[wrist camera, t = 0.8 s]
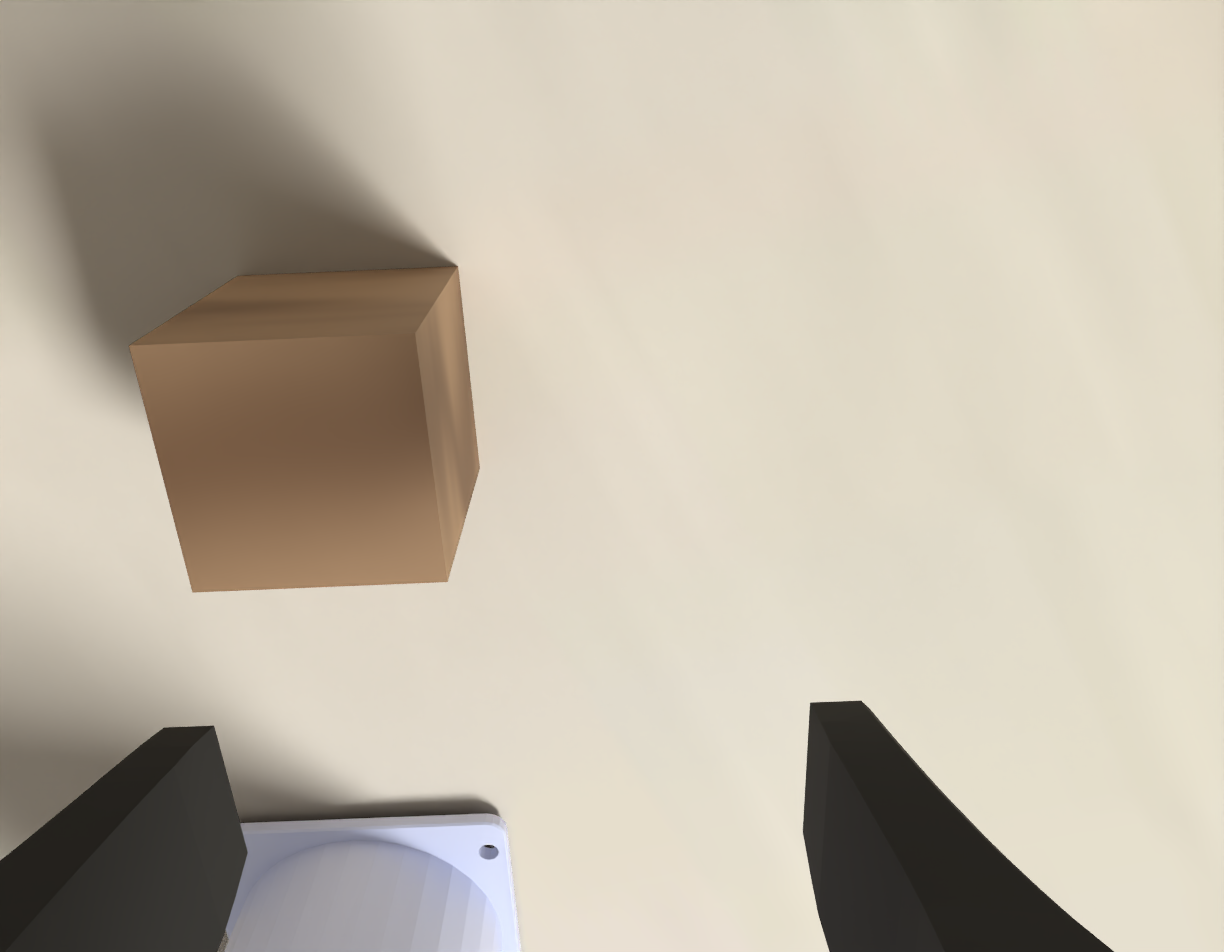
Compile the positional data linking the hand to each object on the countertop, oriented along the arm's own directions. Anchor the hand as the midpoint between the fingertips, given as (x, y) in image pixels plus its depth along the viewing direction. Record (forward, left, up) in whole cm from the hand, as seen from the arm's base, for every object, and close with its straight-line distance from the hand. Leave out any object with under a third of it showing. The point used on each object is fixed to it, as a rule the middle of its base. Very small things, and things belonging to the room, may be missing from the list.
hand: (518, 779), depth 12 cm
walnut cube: (+2, +4, -11) cm, 11 cm away
